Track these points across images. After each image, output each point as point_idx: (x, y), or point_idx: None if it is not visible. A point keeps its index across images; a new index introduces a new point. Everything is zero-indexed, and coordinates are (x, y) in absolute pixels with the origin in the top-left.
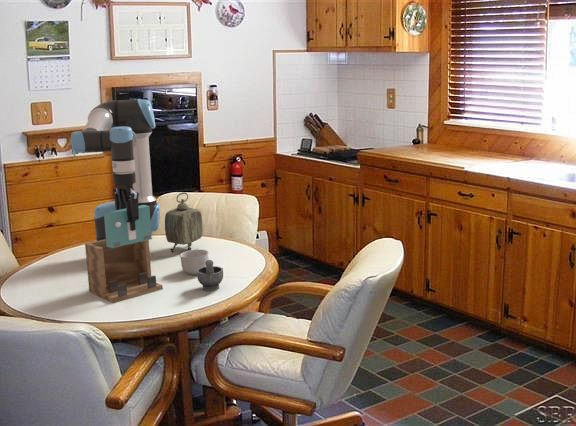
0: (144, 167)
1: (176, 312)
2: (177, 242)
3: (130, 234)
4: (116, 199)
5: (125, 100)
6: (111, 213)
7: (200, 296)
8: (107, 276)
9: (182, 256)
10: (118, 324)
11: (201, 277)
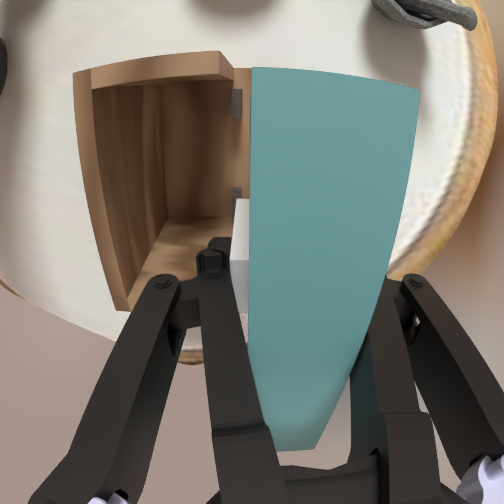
0: None
1: (447, 169)
2: None
3: None
4: (150, 457)
5: None
6: (315, 442)
7: (420, 59)
8: (158, 185)
9: None
10: (394, 277)
11: (421, 27)
